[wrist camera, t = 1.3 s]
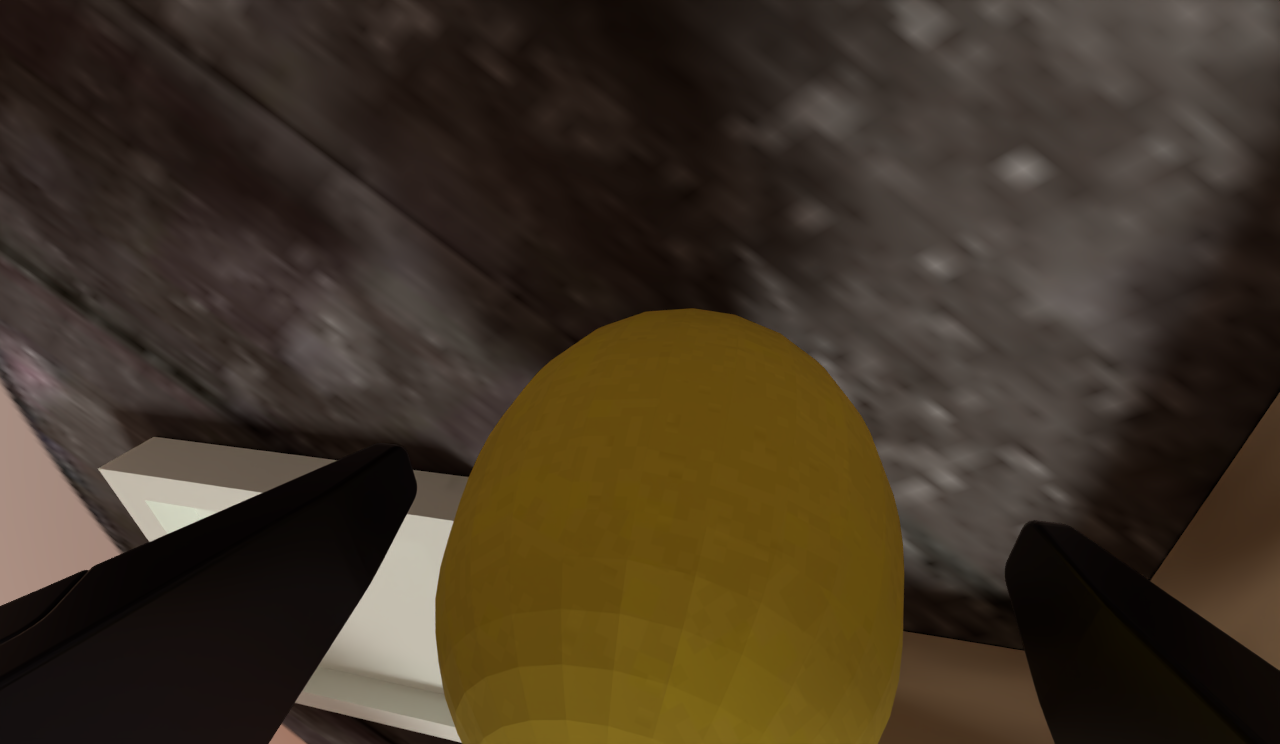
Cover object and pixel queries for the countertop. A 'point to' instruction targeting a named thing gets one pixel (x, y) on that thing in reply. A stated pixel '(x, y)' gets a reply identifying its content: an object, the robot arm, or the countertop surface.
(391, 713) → the dish
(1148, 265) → the countertop surface
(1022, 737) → the u-shaped wooden frame
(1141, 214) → the countertop surface
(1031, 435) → the countertop surface
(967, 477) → the countertop surface
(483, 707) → the lemon
